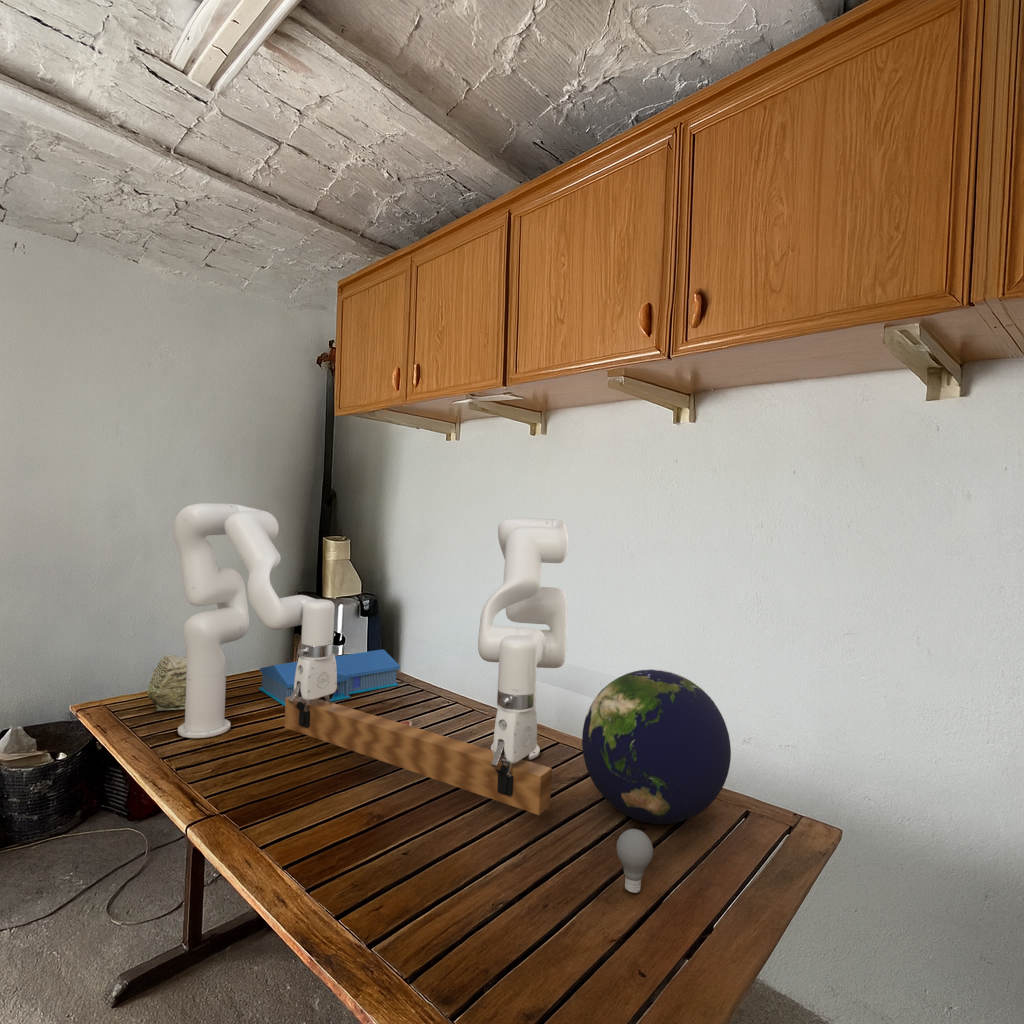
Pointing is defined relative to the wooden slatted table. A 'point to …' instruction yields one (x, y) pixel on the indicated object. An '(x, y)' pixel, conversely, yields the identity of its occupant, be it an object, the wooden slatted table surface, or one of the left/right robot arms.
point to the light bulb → (634, 857)
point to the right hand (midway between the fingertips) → (512, 787)
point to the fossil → (169, 683)
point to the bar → (424, 753)
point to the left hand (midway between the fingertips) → (312, 722)
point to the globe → (656, 746)
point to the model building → (351, 675)
